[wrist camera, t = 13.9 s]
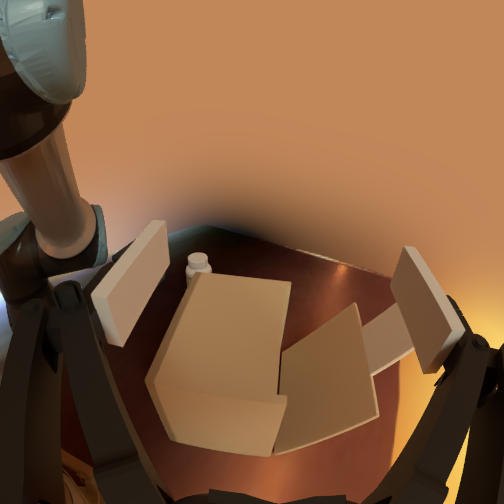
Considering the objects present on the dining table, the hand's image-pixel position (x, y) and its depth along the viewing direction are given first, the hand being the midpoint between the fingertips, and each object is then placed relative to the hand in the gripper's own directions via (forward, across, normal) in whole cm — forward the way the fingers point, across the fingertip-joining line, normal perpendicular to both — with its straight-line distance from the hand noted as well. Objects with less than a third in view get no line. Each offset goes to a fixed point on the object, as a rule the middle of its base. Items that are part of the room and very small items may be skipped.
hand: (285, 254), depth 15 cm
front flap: (+11, +3, -32) cm, 34 cm away
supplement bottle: (+35, -15, -33) cm, 50 cm away
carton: (+11, -4, -33) cm, 35 cm away
